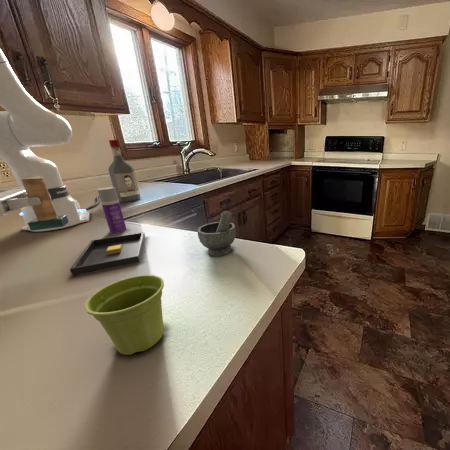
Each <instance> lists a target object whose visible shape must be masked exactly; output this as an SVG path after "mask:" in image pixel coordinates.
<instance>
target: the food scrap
mask: <svg viewBox="0 0 450 450" xmlns="http://www.w3.org/2000/svg"><path fill="white" fill-rule="evenodd" d="M121 251H122V245H116V246H110V247H108V249H107V254H108V255H109V254H114V253H120V252H121Z"/></svg>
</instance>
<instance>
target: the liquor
mask: <svg viewBox="0 0 450 450" xmlns="http://www.w3.org/2000/svg"><path fill="white" fill-rule="evenodd" d="M108 143H109V147H110V148H111V152H112V157H113V161H112V162H111V164H110V165H109V167H108V174H109V177H110V178H109V179H110V181H111V185H112V187H114V188H115V191H116V194H117V197H118V200H119V203H131V202H134V201H139V200H141V194H140V190H139V185H138V181H137V177H136V173H135V169H134V167H133V166H132V165H131V164H129V163H128V162H127V161H126V160H125V159H124V158H123V155H122V151H121V147H120V142H119V140H118V139H109V140H108Z"/></svg>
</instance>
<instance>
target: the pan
mask: <svg viewBox="0 0 450 450" xmlns="http://www.w3.org/2000/svg"><path fill="white" fill-rule="evenodd" d="M145 239H146V234H145V232H144V231H141V232H134V233H129V234H124V235H117V236H110V237H104V238H98V239H97V238H96V239H92V240H90V242H89V243H88V244H87V245H86V247H85V248H84V250H83V251H82V253H80V255H79V257H78V258H77V259H76V260H75V262H74V263H73V265H71V267H70V268H69V270H70V273H71V276H77V275H82V274H87V273H93V272H97V271H102V270H106V269H112V268H117V267H120V266H121V267H122V266H126V265H131V264H136V263H140V262H141V259H142V254H143V248H144V244H145ZM116 245H122V251H121V252H120V253H114V254H109V255H108V254H107V249H108V247H110V246H116Z"/></svg>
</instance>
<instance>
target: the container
mask: <svg viewBox="0 0 450 450" xmlns="http://www.w3.org/2000/svg"><path fill="white" fill-rule="evenodd" d="M97 193H98V195H99V197H98V198H99V202H100V204H101V208H102V211H103V215H104V217H105V220H106V225H107V227H108V230H109V233H110V234H119V233H122V232H126V231H127V226H126V222H125V217H124V215H123V211H122V207H121V204H120V203H121V202H119V200H118V197H117V194H116V191H115V188H114V187H113V186H106V187H101V188H97Z"/></svg>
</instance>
